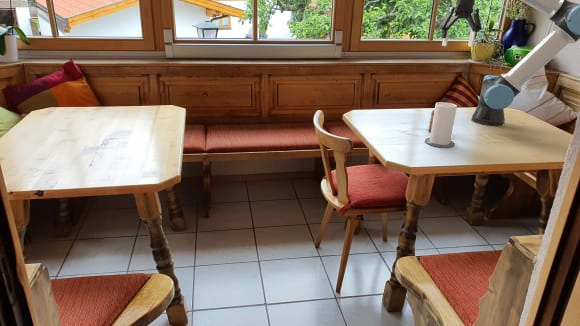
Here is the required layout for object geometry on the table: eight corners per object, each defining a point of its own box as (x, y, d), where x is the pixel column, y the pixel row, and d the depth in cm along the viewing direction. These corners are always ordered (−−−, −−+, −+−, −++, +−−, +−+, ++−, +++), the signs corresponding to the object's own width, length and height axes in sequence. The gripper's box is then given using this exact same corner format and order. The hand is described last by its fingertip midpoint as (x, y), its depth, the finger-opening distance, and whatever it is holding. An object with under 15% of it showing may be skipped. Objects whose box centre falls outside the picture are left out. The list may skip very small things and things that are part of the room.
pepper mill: (434, 130, 198) (438, 108, 194) (439, 132, 194) (443, 110, 190) (426, 130, 197) (430, 108, 193) (431, 133, 193) (435, 110, 189)
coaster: (443, 138, 188) (444, 136, 187) (460, 147, 177) (460, 145, 176) (419, 139, 185) (419, 137, 184) (434, 148, 174) (434, 147, 174)
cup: (451, 145, 176) (458, 107, 170) (430, 143, 177) (436, 106, 172) (448, 139, 184) (455, 103, 178) (428, 137, 185) (434, 101, 179)
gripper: (485, -3, 194) (475, 45, 202) (436, -5, 188) (428, 44, 196) (496, -3, 187) (486, 47, 195) (446, -5, 181) (437, 46, 189)
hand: (457, 46), depth 196 cm, fingers open, 13 cm apart
